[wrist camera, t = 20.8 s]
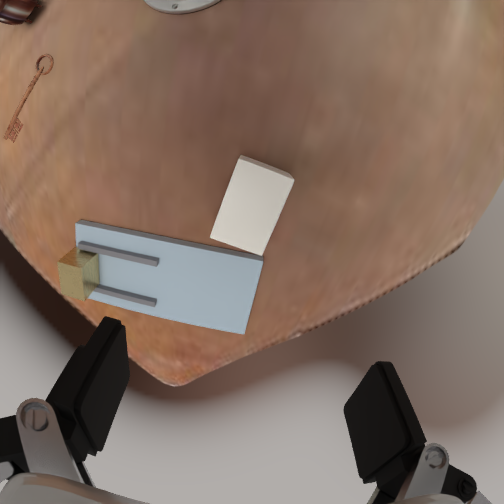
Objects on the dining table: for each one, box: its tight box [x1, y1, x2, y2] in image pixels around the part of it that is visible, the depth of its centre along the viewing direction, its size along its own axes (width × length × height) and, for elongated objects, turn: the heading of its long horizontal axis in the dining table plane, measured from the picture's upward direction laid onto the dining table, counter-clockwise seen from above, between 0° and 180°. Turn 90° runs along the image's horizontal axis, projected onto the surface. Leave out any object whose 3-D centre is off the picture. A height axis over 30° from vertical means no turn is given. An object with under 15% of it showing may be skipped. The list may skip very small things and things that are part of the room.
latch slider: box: [57, 247, 100, 301], centre depth 33 cm, size 5×4×5 cm
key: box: [4, 54, 53, 143], centre depth 27 cm, size 6×1×15 cm
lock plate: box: [75, 220, 263, 334], centre depth 37 cm, size 12×26×2 cm, turn 78°
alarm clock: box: [0, 0, 41, 25], centre depth 13 cm, size 11×5×15 cm, turn 45°
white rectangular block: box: [210, 155, 295, 256], centre depth 31 cm, size 9×6×5 cm, turn 159°
